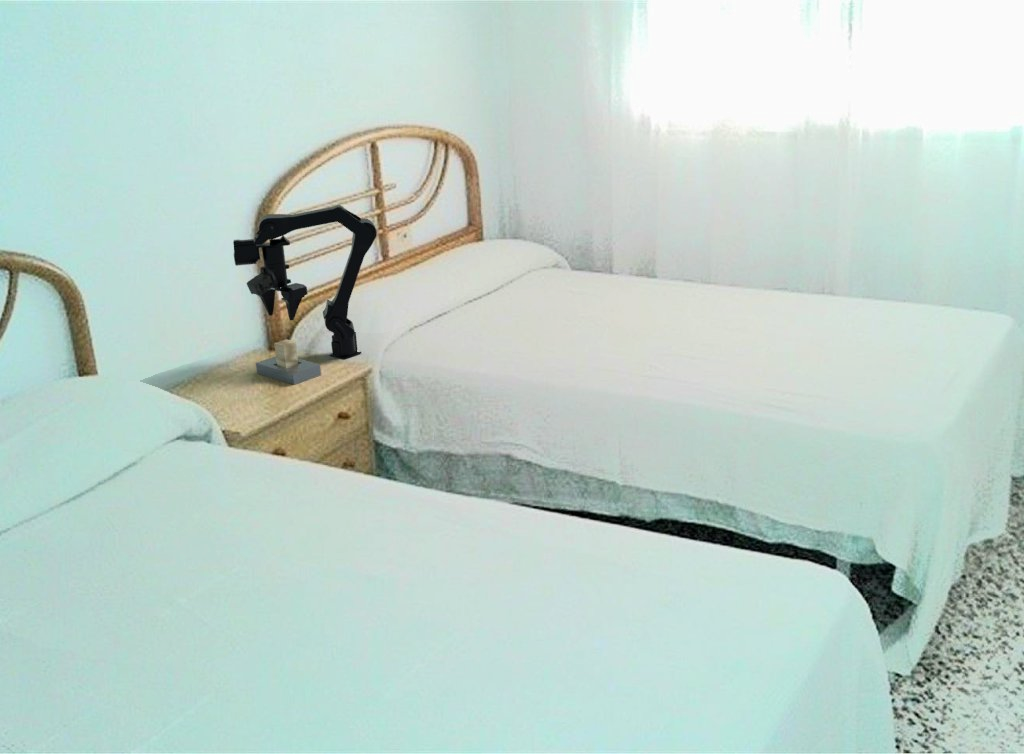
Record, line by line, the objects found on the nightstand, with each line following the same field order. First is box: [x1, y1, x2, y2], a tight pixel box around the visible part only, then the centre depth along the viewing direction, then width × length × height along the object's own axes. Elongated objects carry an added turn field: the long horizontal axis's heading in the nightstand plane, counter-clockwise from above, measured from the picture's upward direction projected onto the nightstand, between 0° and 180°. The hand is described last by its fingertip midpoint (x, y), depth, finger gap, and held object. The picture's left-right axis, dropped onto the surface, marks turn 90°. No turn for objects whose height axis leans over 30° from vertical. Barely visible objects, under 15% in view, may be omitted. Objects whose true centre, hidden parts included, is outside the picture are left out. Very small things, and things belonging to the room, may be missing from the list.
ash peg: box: [273, 339, 298, 368], centre depth 277 cm, size 4×4×9 cm
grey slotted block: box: [255, 355, 322, 385], centre depth 278 cm, size 9×16×3 cm, turn 49°
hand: (281, 317), depth 285 cm, fingers open, 9 cm apart
